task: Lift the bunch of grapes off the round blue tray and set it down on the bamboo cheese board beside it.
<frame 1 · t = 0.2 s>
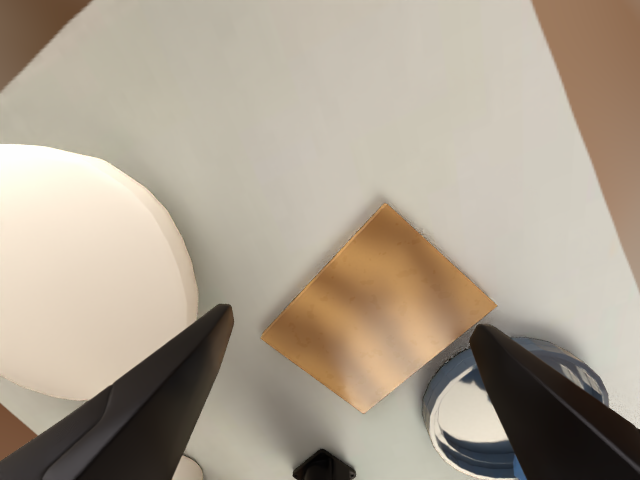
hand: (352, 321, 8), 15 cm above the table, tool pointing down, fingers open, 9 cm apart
milk bottle: (179, 469, 33), on the table
plate: (93, 273, 26), on the table
bamboo board: (372, 317, 26), on the table
round blue tray: (501, 403, 28), on the table
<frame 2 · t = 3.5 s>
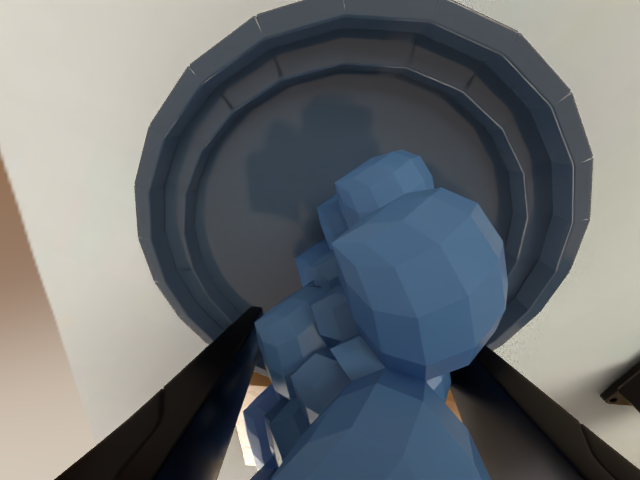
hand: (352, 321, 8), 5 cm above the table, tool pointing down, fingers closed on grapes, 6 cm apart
grapes: (345, 252, 13), resting on round blue tray, touching gripper
bamboo board: (342, 427, 22), on the table
round blue tray: (345, 252, 13), on the table
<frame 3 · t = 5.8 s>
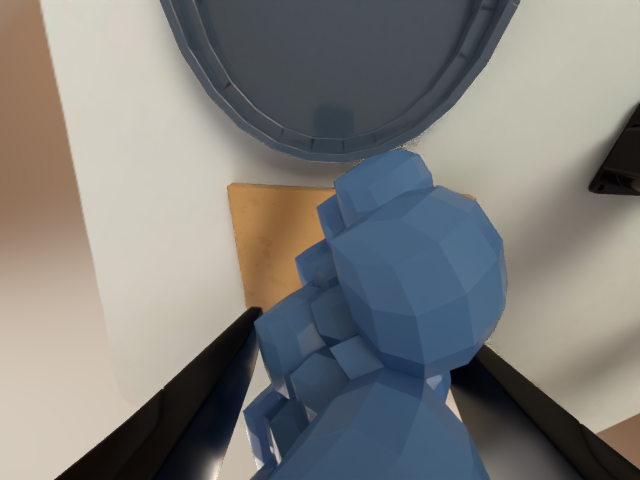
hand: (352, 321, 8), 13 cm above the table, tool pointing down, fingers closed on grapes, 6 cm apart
grapes: (345, 251, 13), point 8 cm above the table, touching gripper
bamboo board: (341, 267, 23), on the table
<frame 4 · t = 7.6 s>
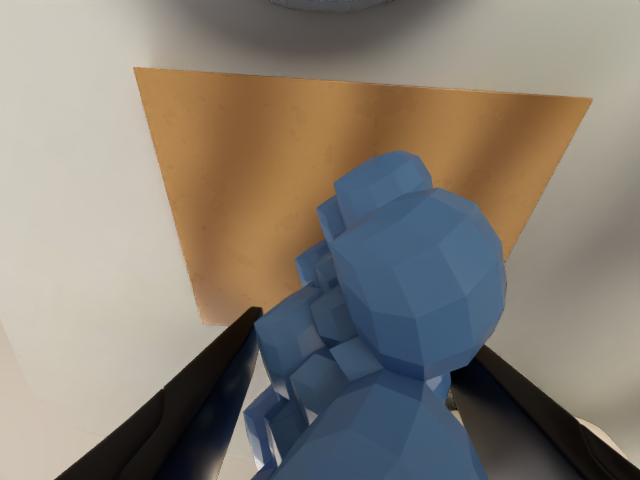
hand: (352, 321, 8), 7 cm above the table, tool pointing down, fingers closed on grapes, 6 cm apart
grapes: (345, 252, 13), point 2 cm above the table, touching gripper
plate: (457, 442, 27), on the table
bamboo board: (341, 235, 15), on the table
when the fingers open (6 cm above the table, at t = 8.6 s): grapes stays where it is, resting on bamboo board.
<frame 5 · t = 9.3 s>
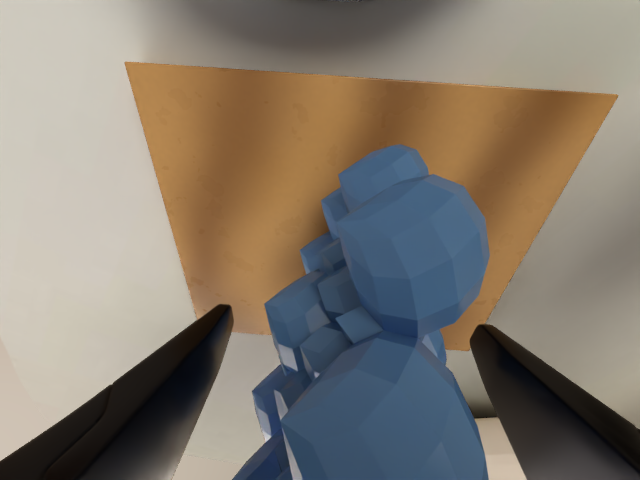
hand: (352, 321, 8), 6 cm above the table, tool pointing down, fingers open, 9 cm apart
grapes: (348, 245, 13), point 1 cm above the table, touching bamboo board
plate: (462, 449, 27), on the table
bamboo board: (344, 239, 14), on the table
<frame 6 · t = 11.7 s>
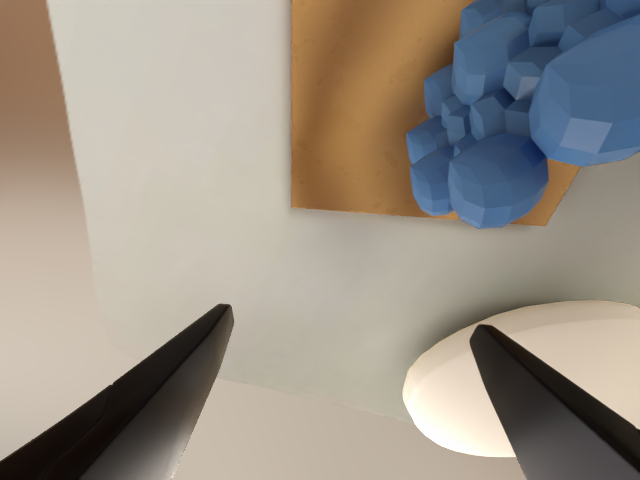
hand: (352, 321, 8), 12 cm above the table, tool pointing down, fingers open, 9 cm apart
grapes: (453, 96, 14), point 1 cm above the table, touching bamboo board
plate: (511, 366, 28), on the table
bamboo board: (445, 98, 15), on the table
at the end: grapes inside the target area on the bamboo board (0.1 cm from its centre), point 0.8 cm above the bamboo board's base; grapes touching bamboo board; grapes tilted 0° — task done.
